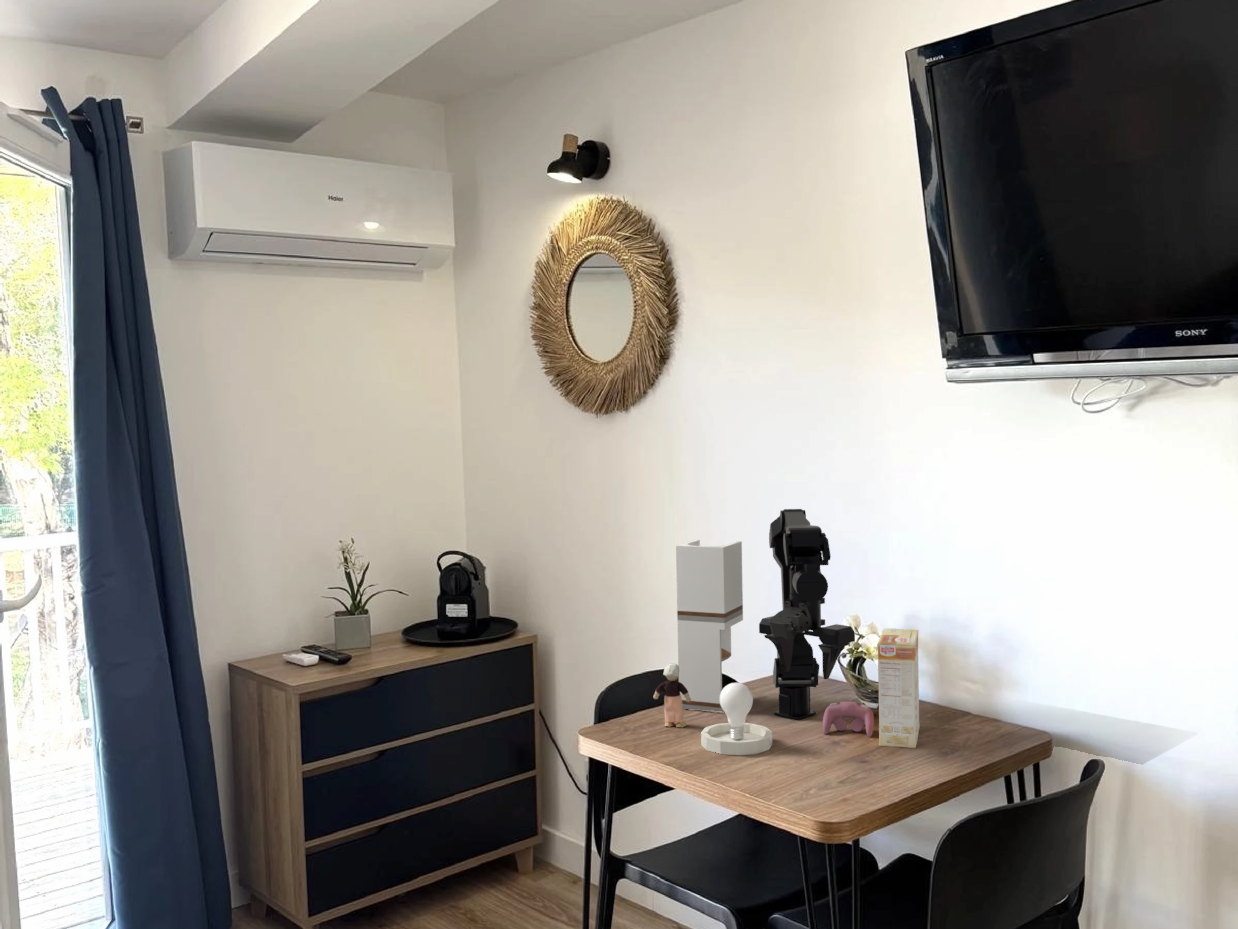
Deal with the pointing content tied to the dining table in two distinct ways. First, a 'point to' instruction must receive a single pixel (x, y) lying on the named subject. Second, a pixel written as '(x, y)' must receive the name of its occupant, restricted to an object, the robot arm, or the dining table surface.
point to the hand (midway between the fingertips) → (806, 675)
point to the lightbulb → (736, 707)
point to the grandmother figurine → (672, 696)
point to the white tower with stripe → (706, 617)
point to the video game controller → (848, 709)
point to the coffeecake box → (898, 688)
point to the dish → (720, 741)
